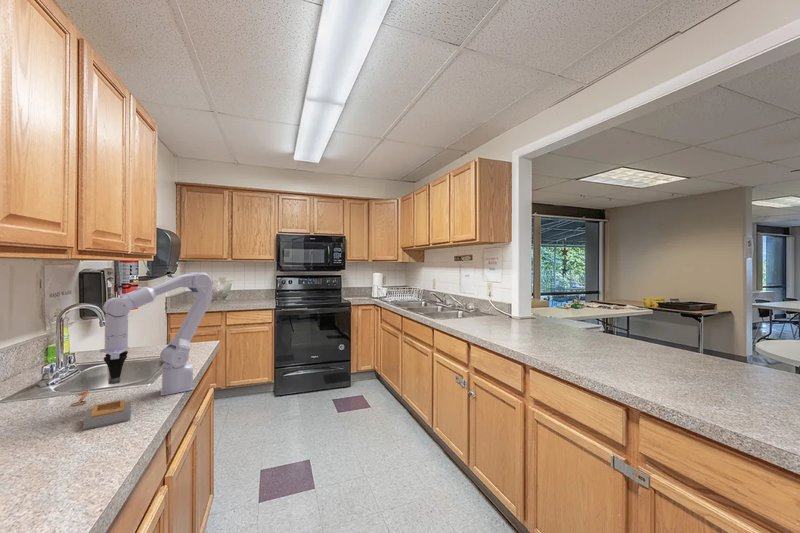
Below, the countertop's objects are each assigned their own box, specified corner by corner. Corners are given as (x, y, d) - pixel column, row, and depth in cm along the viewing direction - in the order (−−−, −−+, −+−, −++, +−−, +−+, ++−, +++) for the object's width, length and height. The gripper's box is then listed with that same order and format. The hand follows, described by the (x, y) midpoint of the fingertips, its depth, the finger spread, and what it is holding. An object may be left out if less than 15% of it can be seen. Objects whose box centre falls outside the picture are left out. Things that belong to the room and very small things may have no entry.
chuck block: (130, 410, 103) (131, 397, 103) (130, 420, 97) (130, 406, 97) (87, 419, 97) (87, 405, 97) (83, 430, 91) (83, 415, 91)
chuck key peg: (121, 380, 109) (122, 363, 109) (121, 383, 106) (122, 365, 107) (107, 382, 107) (109, 364, 107) (107, 384, 104) (108, 367, 104)
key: (73, 395, 116) (60, 410, 104) (73, 392, 116) (60, 407, 104) (95, 390, 120) (85, 404, 107) (95, 388, 120) (85, 402, 107)
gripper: (102, 332, 110) (101, 372, 110) (97, 340, 99) (96, 385, 99) (129, 330, 115) (128, 369, 115) (127, 337, 103) (127, 380, 103)
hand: (115, 376), depth 107 cm, fingers closed on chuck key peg, 3 cm apart
